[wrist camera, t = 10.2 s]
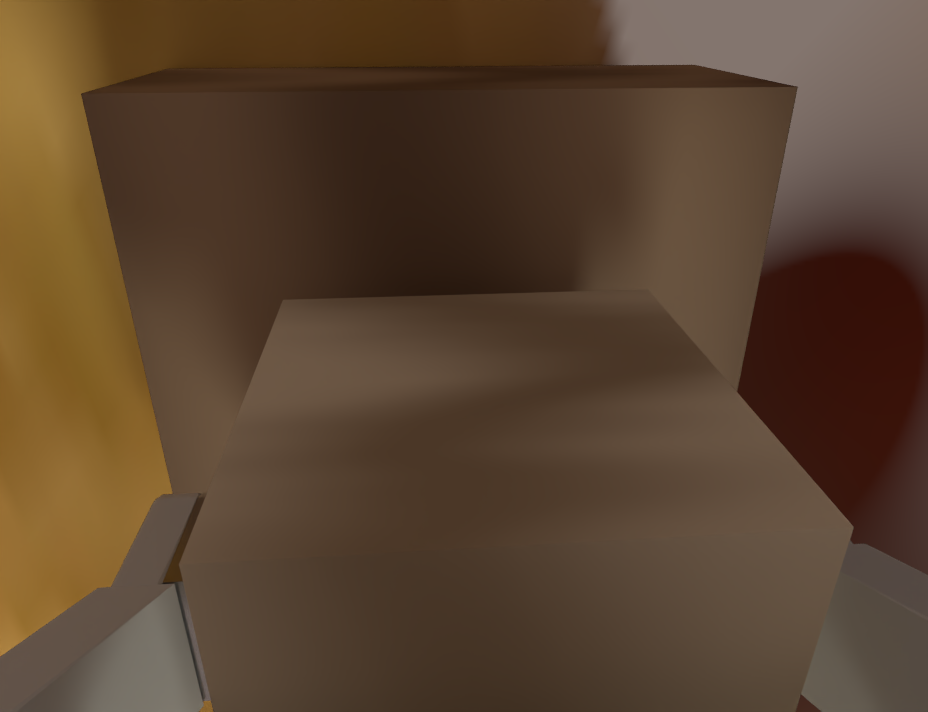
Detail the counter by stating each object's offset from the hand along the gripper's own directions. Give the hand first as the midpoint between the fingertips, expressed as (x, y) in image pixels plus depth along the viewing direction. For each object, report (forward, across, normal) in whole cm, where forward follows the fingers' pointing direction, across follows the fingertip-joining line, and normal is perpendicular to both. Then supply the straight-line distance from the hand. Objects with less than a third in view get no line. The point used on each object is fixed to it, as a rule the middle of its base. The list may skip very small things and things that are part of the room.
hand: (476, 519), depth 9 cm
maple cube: (+2, 0, 0) cm, 2 cm away
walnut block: (+7, 0, 0) cm, 7 cm away
